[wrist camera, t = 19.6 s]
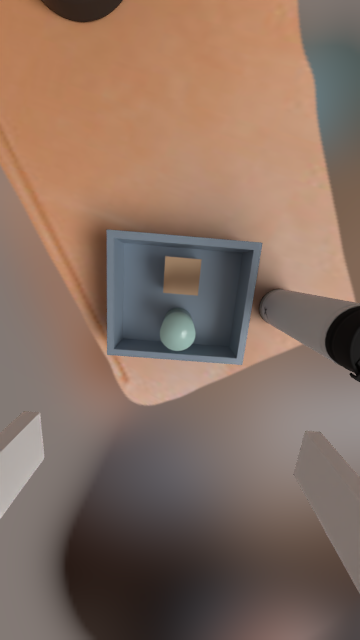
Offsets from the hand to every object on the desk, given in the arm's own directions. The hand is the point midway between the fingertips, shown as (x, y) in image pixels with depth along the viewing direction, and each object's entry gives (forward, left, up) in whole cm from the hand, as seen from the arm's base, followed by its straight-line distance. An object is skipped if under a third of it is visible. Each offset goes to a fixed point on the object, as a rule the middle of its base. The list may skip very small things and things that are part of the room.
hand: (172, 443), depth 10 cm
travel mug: (-4, +17, -27) cm, 32 cm away
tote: (-4, 0, -27) cm, 27 cm away
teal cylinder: (0, 0, -26) cm, 26 cm away
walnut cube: (-8, 0, -26) cm, 27 cm away
